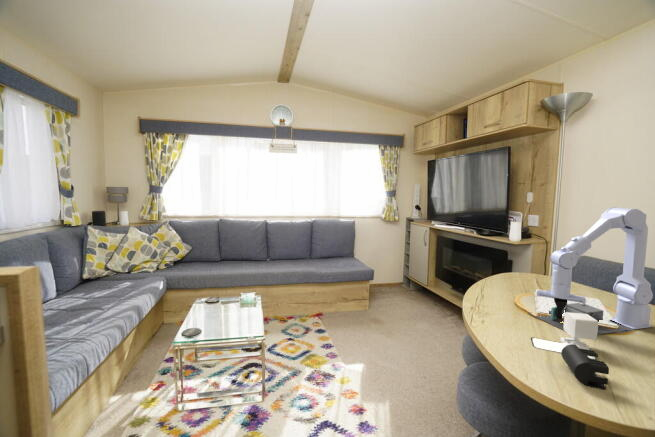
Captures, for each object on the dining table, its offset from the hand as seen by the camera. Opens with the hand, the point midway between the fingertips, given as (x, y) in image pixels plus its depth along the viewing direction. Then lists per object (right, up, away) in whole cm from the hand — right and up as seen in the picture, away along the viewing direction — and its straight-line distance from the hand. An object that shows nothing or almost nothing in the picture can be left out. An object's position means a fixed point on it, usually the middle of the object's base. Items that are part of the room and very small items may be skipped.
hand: (558, 317), depth 116 cm
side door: (+1, -1, +3) cm, 3 cm away
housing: (+10, -1, +1) cm, 10 cm away
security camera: (-7, -4, -17) cm, 19 cm away
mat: (+7, -2, 0) cm, 7 cm away
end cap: (-19, -6, -33) cm, 39 cm away
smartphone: (-13, -4, -19) cm, 23 cm away
